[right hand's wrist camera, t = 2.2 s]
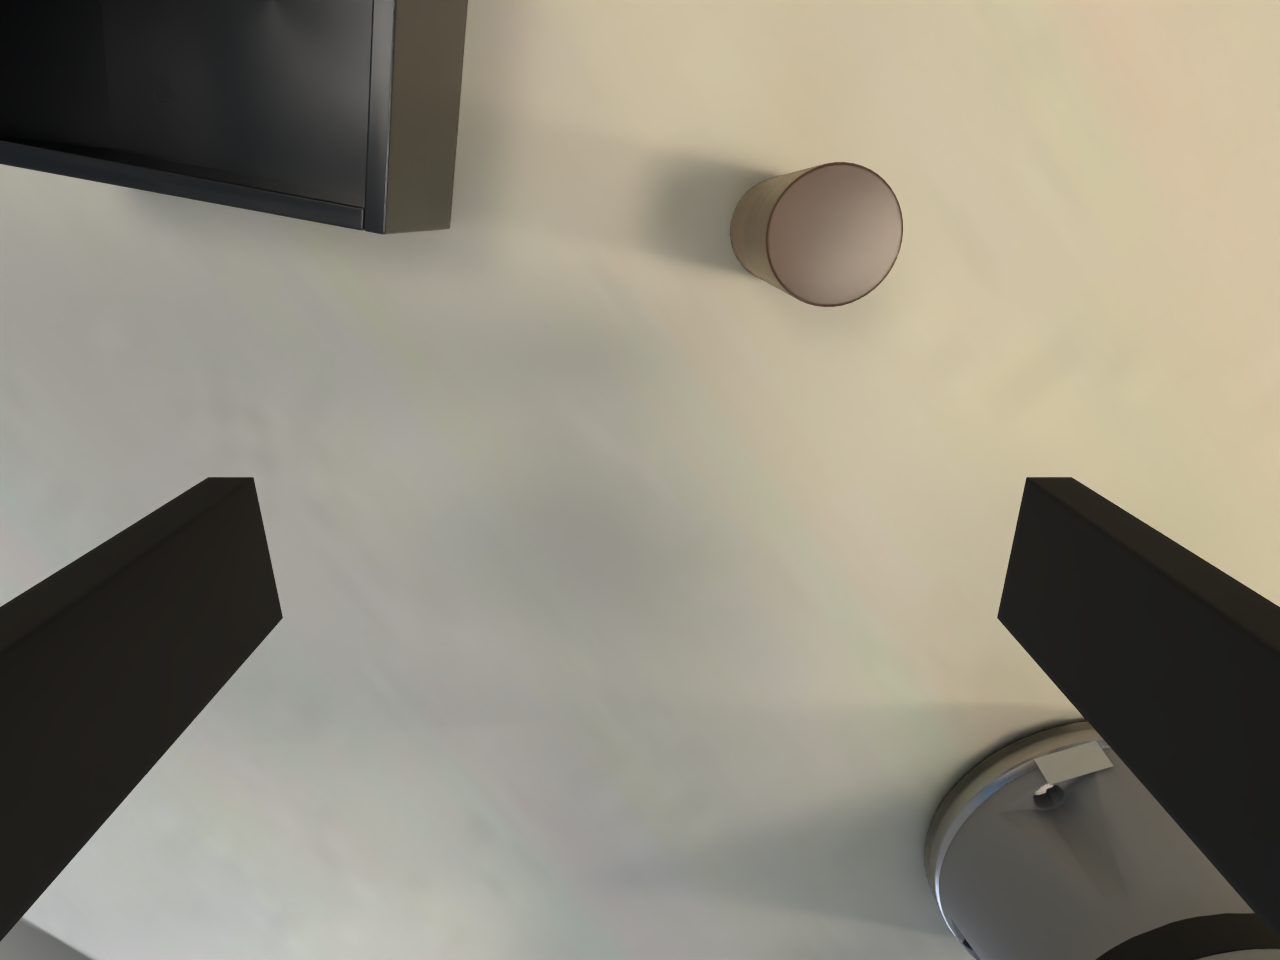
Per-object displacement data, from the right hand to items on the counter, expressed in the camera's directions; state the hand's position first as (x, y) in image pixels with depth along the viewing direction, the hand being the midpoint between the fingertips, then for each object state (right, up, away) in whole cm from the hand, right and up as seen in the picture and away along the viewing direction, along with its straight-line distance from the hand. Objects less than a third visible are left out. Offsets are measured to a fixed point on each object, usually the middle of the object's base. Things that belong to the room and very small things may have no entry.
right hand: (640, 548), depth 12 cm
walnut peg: (+5, +10, +14) cm, 18 cm away
